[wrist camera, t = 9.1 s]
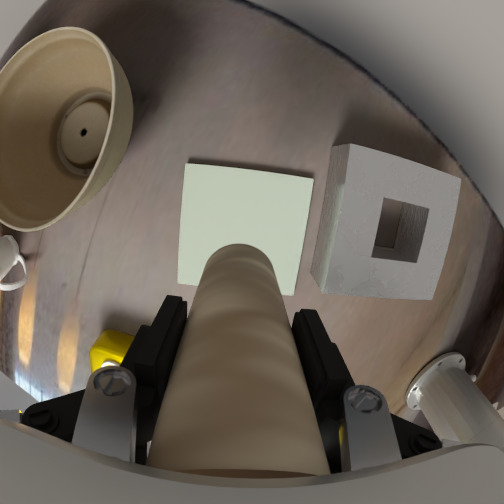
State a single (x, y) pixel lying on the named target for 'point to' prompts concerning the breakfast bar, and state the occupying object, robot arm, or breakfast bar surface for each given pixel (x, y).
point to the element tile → (109, 349)
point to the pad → (242, 218)
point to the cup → (10, 261)
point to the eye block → (367, 219)
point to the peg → (238, 381)
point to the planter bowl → (59, 126)
